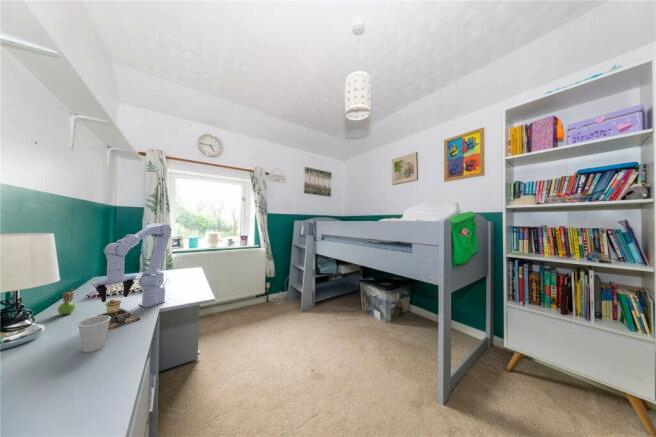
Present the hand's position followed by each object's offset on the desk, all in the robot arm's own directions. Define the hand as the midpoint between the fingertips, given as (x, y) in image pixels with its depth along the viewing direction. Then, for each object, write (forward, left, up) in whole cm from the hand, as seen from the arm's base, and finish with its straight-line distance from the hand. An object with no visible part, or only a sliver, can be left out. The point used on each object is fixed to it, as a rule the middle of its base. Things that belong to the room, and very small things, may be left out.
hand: (114, 299), depth 102 cm
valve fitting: (0, -1, -9) cm, 9 cm away
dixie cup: (+13, +21, -10) cm, 27 cm away
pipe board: (0, +1, -10) cm, 10 cm away
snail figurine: (+8, -26, -10) cm, 29 cm away
